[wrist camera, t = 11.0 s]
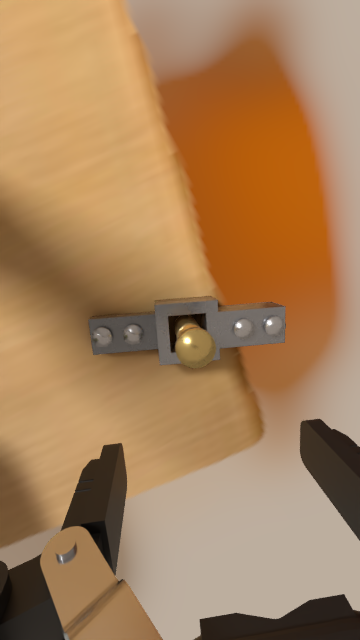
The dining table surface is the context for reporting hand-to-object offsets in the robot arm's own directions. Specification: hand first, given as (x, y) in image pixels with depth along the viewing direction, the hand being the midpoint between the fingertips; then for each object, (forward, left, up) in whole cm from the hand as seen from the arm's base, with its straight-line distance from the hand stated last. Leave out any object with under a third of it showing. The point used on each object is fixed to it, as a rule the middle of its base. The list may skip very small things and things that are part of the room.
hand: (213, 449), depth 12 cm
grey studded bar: (0, +1, -24) cm, 24 cm away
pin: (0, +1, -24) cm, 24 cm away
